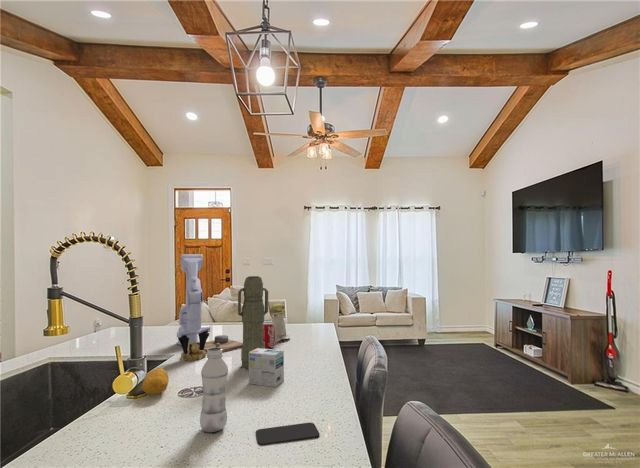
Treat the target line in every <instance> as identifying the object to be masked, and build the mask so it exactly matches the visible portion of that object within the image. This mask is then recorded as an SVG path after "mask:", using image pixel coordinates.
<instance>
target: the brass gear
mask: <svg viewBox="0 0 640 468" xmlns="http://www.w3.org/2000/svg"><path fill="white" fill-rule="evenodd" d="M203 358H205V359H206V358H207V352H205V350H199V341H198V342H190V343H188V353H187V354H184V353H183V351H182V352H181V353H180V359H181V360H182V361H189V362H192V361H199V360H200V361H201V360H202V359H203ZM185 359H186V360H185Z"/></svg>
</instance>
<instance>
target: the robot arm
mask: <svg viewBox="0 0 640 468" xmlns="http://www.w3.org/2000/svg"><path fill="white" fill-rule="evenodd" d="M203 264H204V255H203V254H202V253H200V254H199V253H197V254H196V253H193V254H191V253H189V254H188V253H187V254H186V253H185V254H184V253H182V254H181V255H180V270H181V271H183V272H184V273H185V277H186V278H185V304H184V306H182V307H181V308H180V309H179V315H178V324H179V325H180V326H179V328H178V329H177V330H178V331H177V332H176V337H177V342H176V344H178V345H180V346H181V349H182V352H183V353H184V354H187V353H188V343H190V342H199V348H200V350H204V346H205V343H206V342H207V340H208V338H209V337H210V332H211V327H209V326H205V327H204V326H203V327H202V306H203V302H204V293H203V290H202V287H201V280H200V278H198V274H199V271H201V270H202V268H203ZM198 338H199V341H198Z"/></svg>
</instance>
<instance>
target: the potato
mask: <svg viewBox="0 0 640 468" xmlns="http://www.w3.org/2000/svg"><path fill="white" fill-rule="evenodd" d="M145 376H146V378H145V377H144V378H145V379H144V378H143V380H142V382H141V389H142V391H143V392H145V393H146V394H147V395H151V396H156V395H161V393H163V392H165V391H166V390H167V387H168V385H169V381H170V380H169V375H168V373H167V371H166V370H164V368H161V367H158V368H154V369H152V370H150V371H148V372H147V373H146V375H145Z"/></svg>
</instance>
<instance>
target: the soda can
mask: <svg viewBox="0 0 640 468" xmlns="http://www.w3.org/2000/svg"><path fill="white" fill-rule="evenodd" d="M275 345H276V343H275V326H274V323H273V322H272V321H264V322H263V347H264V349H273V350H274V349H275Z"/></svg>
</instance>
